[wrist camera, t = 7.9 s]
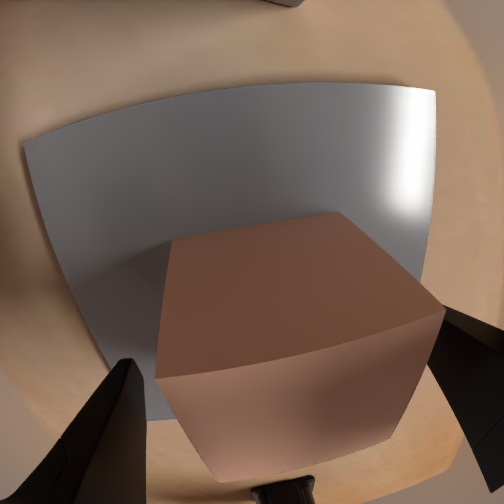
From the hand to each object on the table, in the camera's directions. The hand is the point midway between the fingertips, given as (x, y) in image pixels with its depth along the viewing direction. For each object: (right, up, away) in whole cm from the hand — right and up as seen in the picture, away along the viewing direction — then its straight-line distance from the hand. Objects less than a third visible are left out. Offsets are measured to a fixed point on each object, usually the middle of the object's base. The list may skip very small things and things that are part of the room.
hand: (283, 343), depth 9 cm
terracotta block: (0, +1, +2) cm, 2 cm away
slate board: (-1, +2, +3) cm, 4 cm away
